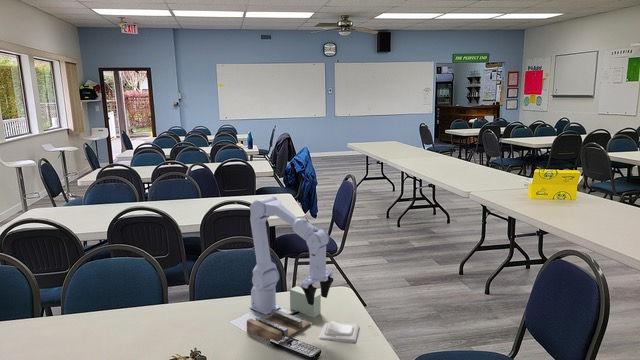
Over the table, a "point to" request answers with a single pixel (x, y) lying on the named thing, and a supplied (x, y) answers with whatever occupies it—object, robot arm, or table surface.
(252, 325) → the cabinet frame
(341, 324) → the light switch
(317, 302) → the pale green foam block
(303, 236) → the robot arm
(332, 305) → the table surface
